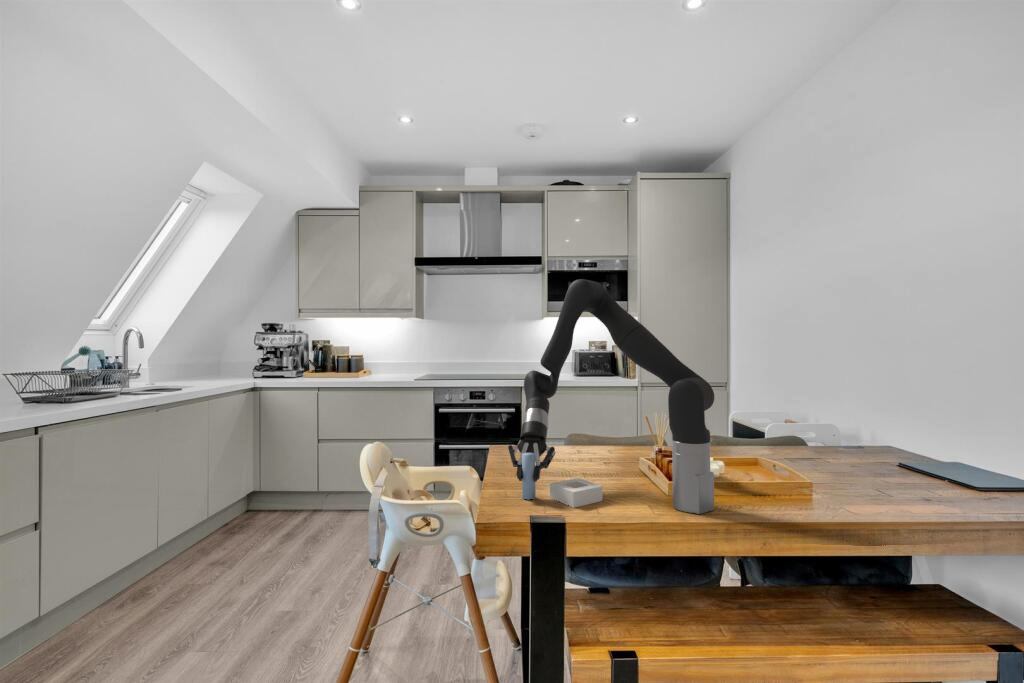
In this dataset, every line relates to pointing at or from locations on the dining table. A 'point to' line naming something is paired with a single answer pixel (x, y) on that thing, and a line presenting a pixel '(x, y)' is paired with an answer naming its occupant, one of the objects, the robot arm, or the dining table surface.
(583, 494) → the socket
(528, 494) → the peg
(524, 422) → the robot arm
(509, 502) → the dining table surface
